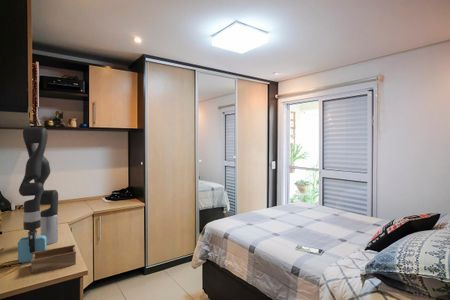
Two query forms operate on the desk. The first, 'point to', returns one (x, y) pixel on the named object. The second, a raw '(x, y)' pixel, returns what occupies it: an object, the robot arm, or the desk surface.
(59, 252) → the crate
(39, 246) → the light blue flat block
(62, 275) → the desk surface
